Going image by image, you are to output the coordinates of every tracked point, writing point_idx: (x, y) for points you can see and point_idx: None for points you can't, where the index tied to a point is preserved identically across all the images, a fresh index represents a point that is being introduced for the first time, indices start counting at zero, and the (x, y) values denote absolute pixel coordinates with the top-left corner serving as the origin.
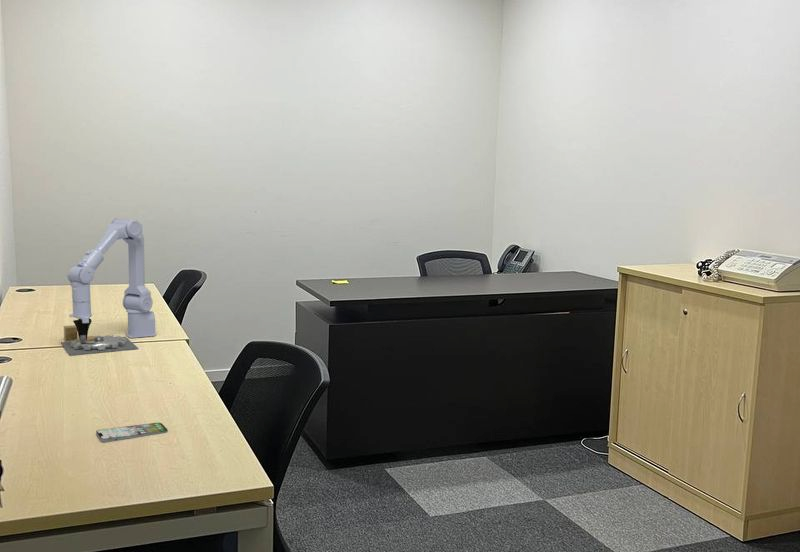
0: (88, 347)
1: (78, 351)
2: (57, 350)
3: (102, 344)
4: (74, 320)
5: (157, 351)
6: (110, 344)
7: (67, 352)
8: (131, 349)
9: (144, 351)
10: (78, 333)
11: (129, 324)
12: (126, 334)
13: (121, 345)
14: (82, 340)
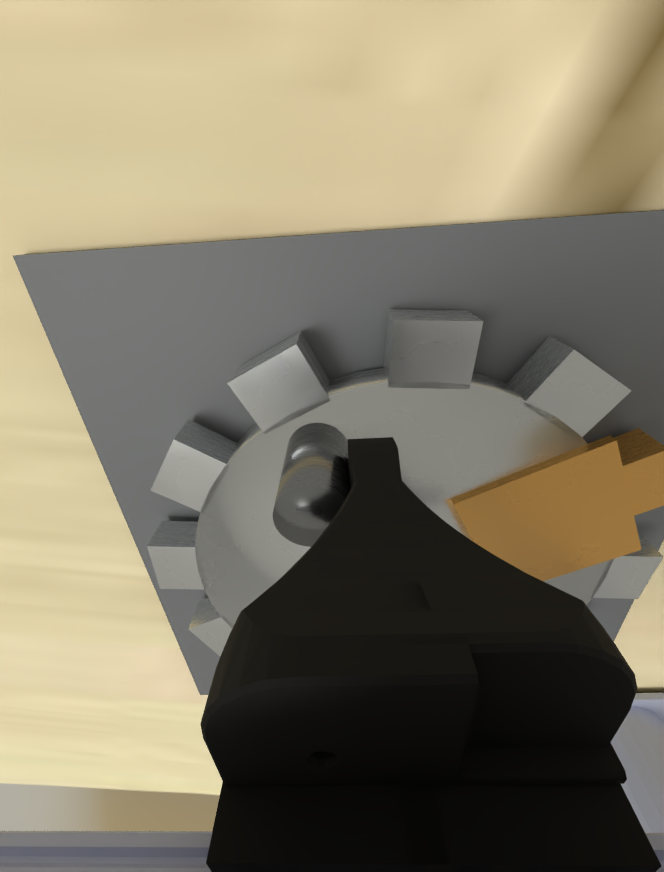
0: (160, 471)
1: (174, 366)
2: (393, 116)
3: (218, 579)
4: (437, 702)
5: (124, 731)
6: (209, 620)
7: (174, 244)
8: (191, 666)
9: (135, 698)
10: (357, 482)
11: (644, 809)
12: (646, 698)
13: None
14: (284, 464)
